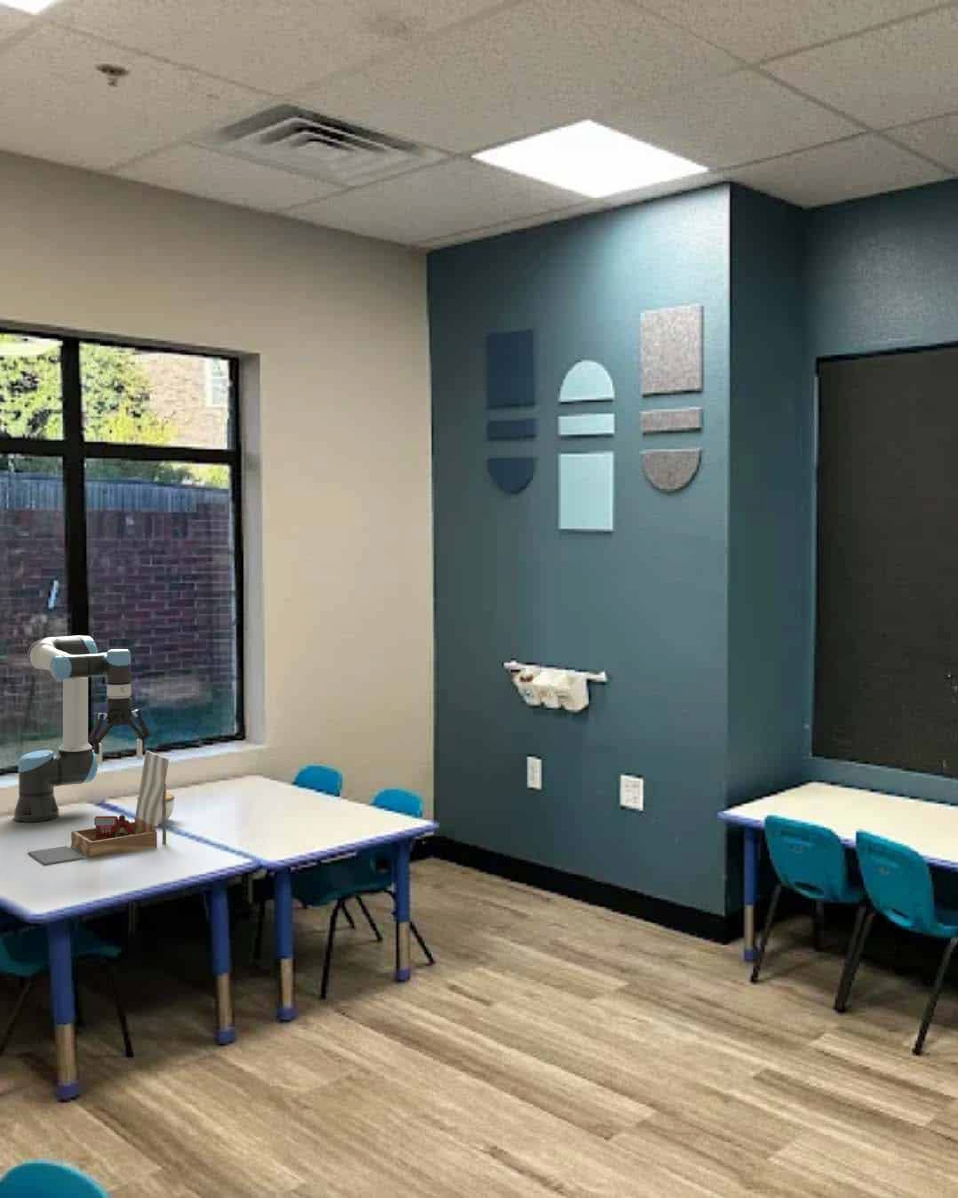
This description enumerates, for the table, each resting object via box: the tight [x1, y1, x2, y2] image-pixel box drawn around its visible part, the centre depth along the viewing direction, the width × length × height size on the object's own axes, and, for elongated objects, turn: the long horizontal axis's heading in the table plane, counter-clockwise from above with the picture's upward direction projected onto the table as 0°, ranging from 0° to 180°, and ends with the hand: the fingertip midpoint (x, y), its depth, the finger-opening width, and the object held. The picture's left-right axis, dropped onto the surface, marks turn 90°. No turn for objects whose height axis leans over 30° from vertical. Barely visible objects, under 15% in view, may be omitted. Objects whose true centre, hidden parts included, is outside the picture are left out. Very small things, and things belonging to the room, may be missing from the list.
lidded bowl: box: [136, 792, 175, 825], centre depth 410 cm, size 13×13×11 cm
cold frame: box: [70, 750, 170, 859], centre depth 378 cm, size 17×26×29 cm, turn 129°
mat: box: [27, 845, 84, 866], centre depth 365 cm, size 16×12×1 cm
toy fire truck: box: [94, 814, 134, 841], centre depth 377 cm, size 7×12×10 cm, turn 99°
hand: (119, 761), depth 378 cm, fingers open, 13 cm apart
